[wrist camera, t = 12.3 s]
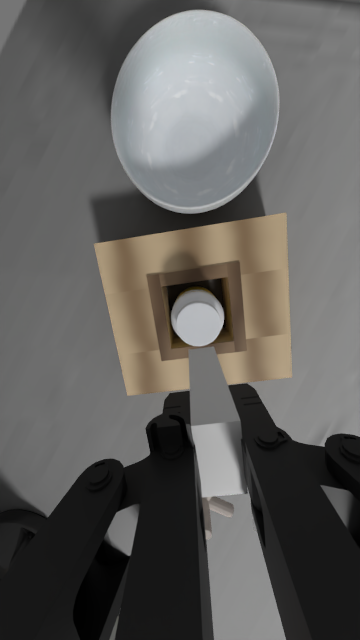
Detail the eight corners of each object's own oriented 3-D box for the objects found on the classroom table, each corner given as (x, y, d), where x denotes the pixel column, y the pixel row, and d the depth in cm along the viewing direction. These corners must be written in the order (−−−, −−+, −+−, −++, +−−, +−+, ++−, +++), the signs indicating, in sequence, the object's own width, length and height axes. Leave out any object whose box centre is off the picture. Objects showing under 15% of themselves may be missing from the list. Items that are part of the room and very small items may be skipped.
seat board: (137, 375, 36) (127, 396, 30) (111, 247, 32) (93, 243, 26) (274, 358, 35) (292, 378, 29) (267, 223, 30) (287, 212, 24)
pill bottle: (210, 329, 34) (220, 359, 23) (171, 321, 34) (162, 347, 23) (221, 290, 33) (236, 302, 22) (180, 281, 33) (174, 289, 22)
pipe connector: (189, 438, 39) (189, 495, 29) (239, 461, 40) (255, 524, 30) (164, 479, 41) (157, 544, 31) (212, 499, 42) (219, 570, 32)
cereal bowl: (198, 35, 26) (201, -48, 19) (285, 153, 28) (316, 117, 22) (101, 151, 29) (74, 115, 22) (187, 248, 32) (186, 243, 25)
